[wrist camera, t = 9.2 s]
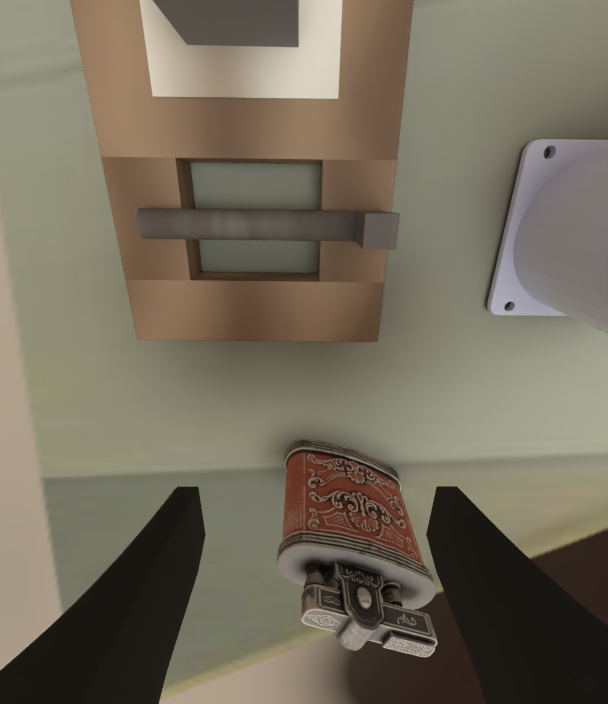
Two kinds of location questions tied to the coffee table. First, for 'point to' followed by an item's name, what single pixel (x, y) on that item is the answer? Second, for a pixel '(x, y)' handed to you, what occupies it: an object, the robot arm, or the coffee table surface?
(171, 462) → the coffee table surface
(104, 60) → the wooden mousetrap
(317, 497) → the lighter
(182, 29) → the gray rectangular block
